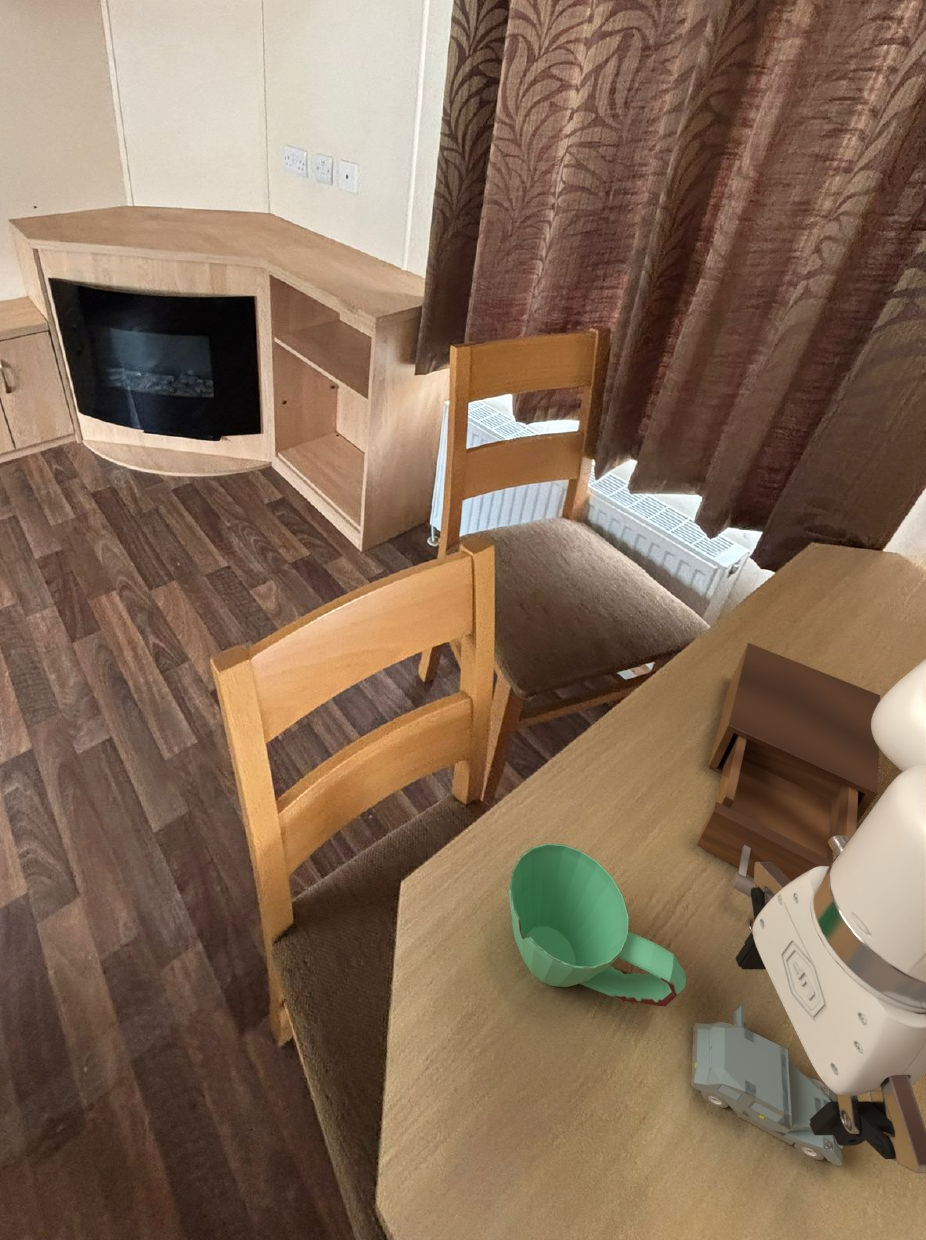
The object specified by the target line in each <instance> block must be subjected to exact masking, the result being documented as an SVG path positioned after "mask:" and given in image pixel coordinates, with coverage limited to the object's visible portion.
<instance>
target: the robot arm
mask: <svg viewBox="0 0 926 1240" xmlns="http://www.w3.org/2000/svg"><path fill="white" fill-rule="evenodd" d="M871 730H872V735H873V738H874V740H875V742H876V744H877V745H878V747H879V751H880V752H882V754H883V755H884V756H885V757H886V758H887V759H888V760H889V761H890V762H891V763H892V764H893V765H895V766H896V768H898V769H899V770H900V771H901V773H899V774H898V775H897V776H896V777H895V778H893V779H894V780H892V782H891V783H890V784H889V785H888V786H887V788H886V789H885V791H884V792H883V793H882V794H881V796H880V798H879V799H878V801H876V802H875V804H874V806H873V807H872V809H871V810H870V812H869V813H868V815H867V816H866V817H865V818H864V820H863V821H862V823H861V824H860V825H859V827H857V829H856V832H855V834H854V835H853V837H852V838H851V839H850V840H849V838H848V837H847V836H846V835H837V836H834V837H832V838H830V839H829V840H828V844H829V846H830V847H831V849H832V851H833V856H834V857H833V860H834V861H833V862H832V864H831V865H830V866H819V867H815V868H813V869H811V870H809V871H807V872H806V873H804V874H802V875H801V876H799V877H797V878H796V879H795V880H793V881H791V880H790V879H789V878H788V877H787V876H786V875H785V874H784V873H783V872H782V871H781V870H780V869H779V868H778V867H777V866H776V865H775V864H774V863H773V862H755V865H754V876H753V882H754V883H755V887H753V888H751V897H750V899H751V903H752V912H753V917H749V918H748V919H747V923H748V929H749V931H750V933H749V934H748V936H747V938H746V939H745V940H744V945H743V946H742V947H741V949H740V950H739V952H738V953H737V955H736V956H735V961H736V963H737V965H738V967H739V968H741V970H766V972H767V974H768V976H769V979H770V981H771V983H772V985H773V987H774V989H775V991H776V993H777V996H778V997H779V1000H780V1001H781V1004H782V1006H783V1008H784V1011H785V1012H786V1014H787V1017H788V1018H789V1021H790V1022H791V1025H792V1027H793V1028H794V1031H795V1033H796V1035H797V1038H798V1040H799V1041H800V1043H801V1045H802V1047H803V1050H804V1051H805V1054H806V1056H807V1058H808V1060H809V1061H810V1064H811V1065H812V1067H813V1069H814V1070H815V1072H816V1073H817V1075H818V1076H819V1078H820V1079H821V1080H822V1083H824V1084H826V1085H827V1086H828V1088H829V1089H830V1090H832V1091H833V1092H834V1093H835V1094H836V1097H837V1100H836V1101H832V1102H828V1103H827V1104H826V1105H825V1106H824V1107H823V1108H821V1109H820V1110H819V1111H818V1112H817V1113H816V1114H815V1115H814V1116H813V1117H812V1118H811V1119H810V1122H811V1123H810V1127H811V1129H812V1131H813V1133H814V1135H834V1137H835V1139H836V1142H837V1144H838V1145H840V1146H843V1147H851V1146H858V1145H861V1144H863V1143H864V1142H865V1141H866V1142H867V1143H868V1145H870V1146H871V1147H872V1149H874V1151H876V1152H877V1153H878V1154H879V1155H880V1156H881V1157H882V1158H883V1159H884V1160H892V1161H894V1162H896V1163H897V1165H899V1166H901V1167H903V1168H905V1169H907V1170H909V1171H911V1172H913V1173H915V1174H926V1124H925V1122H924V1119H923V1116H922V1113H921V1110H920V1107H919V1104H918V1101H917V1098H916V1095H915V1091H914V1089H913V1086H914V1085H915V1084H916V1083H917V1082H918V1081H919V1080H920V1079H921V1078H922V1077H923V1075H925V1073H926V658H925V659H923V660H922V661H921V662H920V663H918V664H917V665H916V666H915V667H913V668H912V669H911V670H910V671H909V672H908V673H907V674H905V675H904V676H903V677H902V678H901V679H900V680H899V681H897V682H896V683H895V684H894V685H893V686H892V687H891V688H890V689H889V690H888V691H887V692H886V693H885V694H884V696H882V698H880V702H879V703H878V705H877V707H876V709H875V711H874V713H873V716H872V720H871ZM866 1093H869V1095H870V1100H859V1095H863V1094H866Z"/></svg>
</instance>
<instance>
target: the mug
mask: <svg viewBox="0 0 926 1240" xmlns="http://www.w3.org/2000/svg"><path fill="white" fill-rule="evenodd" d="M507 895H508V901H509V908H510V914H511V915H510V917H511V924H512V930H513V937H514V941H515V943H516V946H517V949H518V952H519V953H520V955H521V957H522V960H523V961H524V963H525V965H526V967H527V968H528V970H529V971H530V972H531V974H532V976H534V977H535V979H536V978H537V979H538V981H540V982H541V983H543V984H545V985H547V986H550V987H557V988H558V987H560V988H561V987H562V988H568V987H573V986H576V985H581V986H583V987H586V988H588V989H592V990H594V991H597V992H599V993H602V994H604V995H607V996H609V997H612V998H613V999H617V1000H619V1001H621V1002H627V1003H628V1002H629V1003H634V1004H643V1005H649V1006H657V1007H663V1008H666V1007H667V1006H668V1005H669V1004H670V1003H671V1002H672V1001H673V1000H674V999H675V998H676V997H677V996H678V995H679V994H681V992H682V991H683V990H684V989H685V988H686V985H687V974H686V972H685V970H684V969H683V967H682V965H681V963H680V962H679V960H678V959H677V957H676V955H674V953H673V952H672V951H670V950H669V949H667V948H665V947H663V946H661V945H659V944H658V943H656V942H654V941H652V940H650V939H648V938H646V937H643V936H641V935H639V934H636V933H634V932H632V931H630V930H629V928H630V914H629V911H628V907H627V905H626V901H625V897H624V894H623V893H622V891H621V889H620V888H619V885H618V884H617V882H616V881H615V880H614V877H613V876H612V875H611V874H610V873H609V872H608V871H607V870H606V869H605V868H604V867H603V865H602V864H601V863H599V862H598V861H597V860H596V859H595V858H593V857H592V856H590V855H588V854H587V853H585V852H584V851H583V850H581V849H578V848H575V847H572V846H569V845H567V844H564V843H549V842H546V843H543V844H540V845H536V846H532V847H531V848H530V849H528V850H527V851H525V852H524V853H523V854H521V855H520V856H519V858H518V860H517V861H516V862H515V865H514V866H513V868H512V871H511V874H510V879H509V886H508V893H507ZM617 959H619V960H621V961H623V962H625V963H627V964H630V965H632V966H634V967H636V968H638V969H640V970H643V971H644V972H647V973H640V972H628V971H625V970H622V969H620V968H617V967H614V966H611V965H612V964H614V962H616V961H617Z"/></svg>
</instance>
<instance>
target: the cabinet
mask: <svg viewBox="0 0 926 1240" xmlns="http://www.w3.org/2000/svg"><path fill="white" fill-rule="evenodd" d="M880 701H881V694H878V693H876V692H873V691H871V690H869V689H865V688H863V687H860V686H858V685H856V684H853V683H851V682H848V681H845V680H843V679H840V678H838V677H835V676H833V675H830V674H827V673H826V672H823V671H820V670H818V669H816V668H813V667H810V666H808V665H805V664H803V663H800V662H798V661H795V660H793V659H790V658H788V657H785V656H783V655H781V654H778V653H775V652H773V651H770V650H769V649H765V648H763V647H761V646H758V645H755V644H753V643H751V642H748V643H747V644H746V646H745V649H744V651H743V653H742V654H741V658H740V659H739V662H738V664H737V666H736V669H735V670H734V672H733V675H732V677H731V679H730V682H729V684H728V688H727V691H726V694H725V699H724V703H723V708H722V711H721V715H720V720H719V723H718V727H717V731H716V734H715V738H714V742H713V746H712V750H711V755H710V759H709V762H708V765H707V769H708V770H711V771H712V772H715V773H717V774H719V775H720V776H721V775H722V771H723V767H724V762H725V758H726V754H727V750H728V748H729V746H730V744H731V742H732V740H733V738H734V736H735V734H737V735H739V736H742V737H744V738H746V739H748V740H750V741H752V742H755V743H757V744H759V745H761V746H763V747H765V748H768V749H770V750H772V751H774V752H776V753H778V754H780V755H783V756H785V757H787V758H789V759H791V760H793V761H796V762H798V763H800V764H802V765H804V766H806V767H809V768H811V769H813V770H815V771H817V772H819V773H822V774H824V775H826V776H828V777H830V778H832V779H834V780H837V781H839V782H841V783H843V784H845V785H847V786H850V787H852V788H854V789H856V790H858V808H857V824H858V823H859V821H860V820H861V819H862V817H863V816H864V815H865V813H866V812H867V810H868V809H869V807H870V806H871V804H872V803H873V802H874V801H875V799H876V798H877V796H878V794H879V769H880V768H879V767H880V765H879V764H880V760H879V759H880V748H879V747H878V745H877V744H876V742H875V740H874V738H873V735H872V730H871V720H872V716H873V713H874V711H875V709H876V707H877V705H878V703H879V702H880Z"/></svg>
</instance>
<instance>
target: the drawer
mask: <svg viewBox="0 0 926 1240" xmlns="http://www.w3.org/2000/svg"><path fill="white" fill-rule="evenodd" d="M857 808H858V790H856V789H854V788H852V787H850V786H847V785H845V784H843V783H841V782H839V781H837V780H834V779H832V778H830V777H828V776H826V775H824V774H822V773H819V772H817V771H815V770H813V769H811V768H809V767H806V766H804V765H802V764H800V763H798V762H796V761H793V760H791V759H789V758H787V757H785V756H783V755H780V754H778V753H776V752H774V751H772V750H770V749H768V748H765V747H763V746H761V745H759V744H757V743H755V742H752V741H750V740H748V739H746V738H744V737H742V736H739V735H737V734H735V736H734V738H733V740H732V742H731V744H730V746H729V748H728V750H727V754H726V758H725V762H724V767H723V771H722V775H721V774H720V780H719V784H718V788H717V793H716V797H715V801H714V804H713V807H712V809H711V810H710V812H709V814H708V817H707V819H706V821H705V823H704V824H703V827H702V829H701V831H700V832H699V835H698V837H697V841H696V846H698V847H700V848H702V849H703V850H705V851H706V852H709V853H710V854H712V855H714V856H716V857H718V858H719V859H721V860H723V861H725V862H727V863H729V864H730V865H732V866H734V867H735V868H738V871H737V872H736V873H735V874H734V876H733V880H732V884H731V887H732V888H733V889H734V890H736V891H738V892H740V893H742V894H744V895H745V896H747V897H749V898H751V888H753V887H755V883H754V880H752V879H749V878H748V877H747V874H749V875H750V876H753V877H754V865H755V862H773V863H774V864H775V865H776V866H777V867H778V868H779V869H780V870H781V871H782V872H783V873H784V874H785V875H786V876H787V877H788V878H789V879H790V880H791V881H793V880H795V879H796V878H797V877H799V876H801V875H802V874H804V873H806V872H807V871H809V870H811V869H813V868H815V867H819V866H830V865H831V864H832V862H833V861H834V860H833V857H834V856H833V851H832V849H831V847H830V846H829V844H828V840H829V839H830V838H832V837H834V836H837V835H846V836H847V837H848V838H849V840H850V839H851V838H852V837H853V835H854V834H855V832H856V831H857V830H858V827H857V825H858V823H857Z"/></svg>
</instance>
